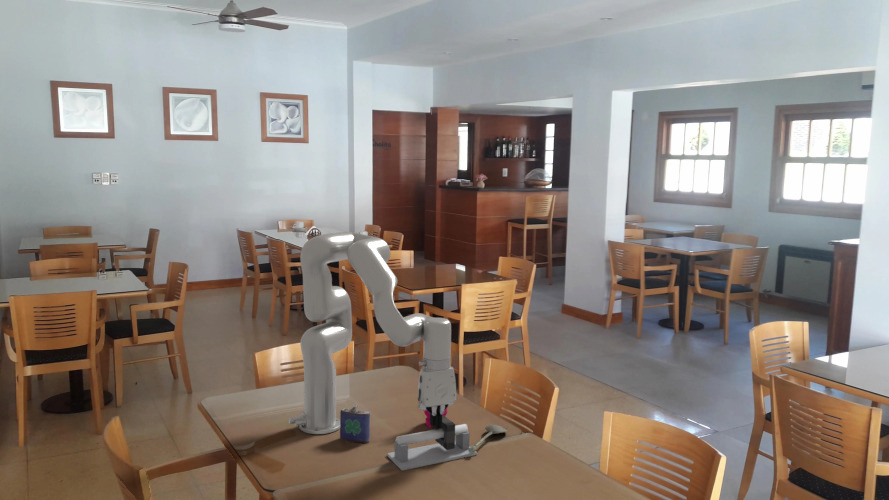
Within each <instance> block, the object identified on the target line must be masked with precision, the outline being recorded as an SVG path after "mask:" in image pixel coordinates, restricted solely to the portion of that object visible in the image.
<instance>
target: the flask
mask: <svg viewBox="0 0 889 500" xmlns="http://www.w3.org/2000/svg"><path fill="white" fill-rule="evenodd" d="M351 407H352V408H349V407H344V408H341V409H340V412H339V414H340V416H339V417H340V418H339V420H340V428H339V438H340V440H341V441H342V442H343V441H344V442H348V443H358V444H369V443H370V441H371V435H370V434H371V432H370V431H371V412H370V411H368V410H358V407H359V405H358V404H353V405H352V406H351Z"/></svg>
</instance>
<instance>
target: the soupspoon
mask: <svg viewBox="0 0 889 500" xmlns="http://www.w3.org/2000/svg"><path fill="white" fill-rule="evenodd" d="M484 430H486V431H487V432H488V433H487V434H485V435H484V436H483V437H481V439H480V440H479V441H478V442H477V443H476V444H473V446H471V448H469V449H468V451H469V452H470V453H474V450H475V451H476V449H477V447H478V446H479V445H480V444H481V443H483V442H484V441H485V440H486V439H487V438H488V437H490V436H492V435H494V434H500V433H501V434H503V433H507V432H508V430H507V429H506V428H505V427H503V426H500V425H497V424H490V425H487V426H485V429H484Z"/></svg>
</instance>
